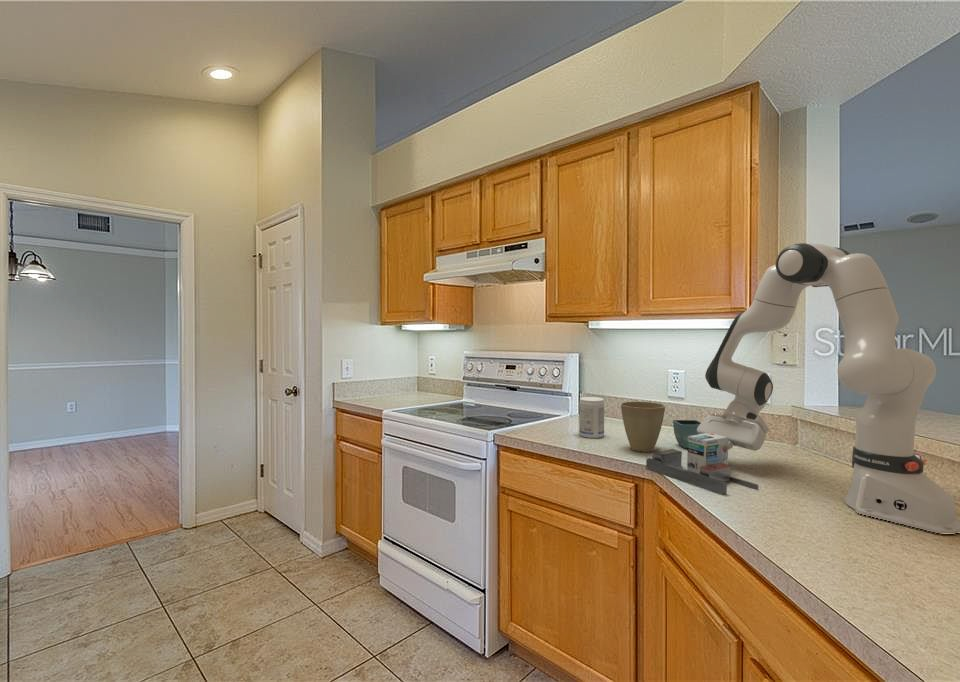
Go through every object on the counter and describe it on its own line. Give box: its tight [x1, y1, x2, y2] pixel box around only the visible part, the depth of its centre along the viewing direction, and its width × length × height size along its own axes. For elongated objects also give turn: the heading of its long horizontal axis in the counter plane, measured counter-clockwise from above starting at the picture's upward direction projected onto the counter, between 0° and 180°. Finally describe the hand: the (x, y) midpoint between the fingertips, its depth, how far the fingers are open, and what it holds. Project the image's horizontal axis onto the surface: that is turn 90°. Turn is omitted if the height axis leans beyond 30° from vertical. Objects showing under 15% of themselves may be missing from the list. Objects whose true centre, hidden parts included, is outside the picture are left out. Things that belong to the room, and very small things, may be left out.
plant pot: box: [620, 400, 666, 453], centre depth 175 cm, size 15×15×16 cm
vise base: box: [645, 448, 759, 496], centre depth 144 cm, size 28×13×5 cm, turn 29°
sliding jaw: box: [700, 463, 731, 483], centre depth 140 cm, size 3×9×4 cm, turn 119°
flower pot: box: [672, 419, 702, 449], centre depth 179 cm, size 9×9×9 cm
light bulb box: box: [686, 433, 729, 474], centre depth 150 cm, size 11×7×11 cm, turn 120°
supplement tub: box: [578, 396, 605, 439], centre depth 195 cm, size 10×10×15 cm
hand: (717, 452), depth 153 cm, fingers closed, pressing on light bulb box
